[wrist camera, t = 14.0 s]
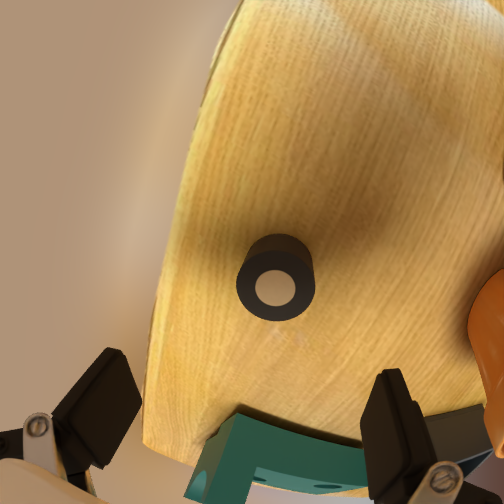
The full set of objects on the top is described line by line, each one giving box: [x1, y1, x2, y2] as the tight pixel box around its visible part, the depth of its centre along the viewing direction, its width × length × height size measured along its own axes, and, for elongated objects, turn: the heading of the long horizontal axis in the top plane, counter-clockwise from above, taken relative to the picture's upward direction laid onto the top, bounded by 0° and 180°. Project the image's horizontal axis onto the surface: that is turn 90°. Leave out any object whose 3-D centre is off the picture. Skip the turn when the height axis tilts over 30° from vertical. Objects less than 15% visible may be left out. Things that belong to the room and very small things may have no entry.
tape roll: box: [236, 234, 315, 321], centre depth 18 cm, size 5×5×4 cm
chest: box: [424, 404, 494, 481], centre depth 21 cm, size 12×11×8 cm
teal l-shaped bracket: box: [184, 413, 368, 504], centre depth 24 cm, size 18×11×10 cm, turn 64°
